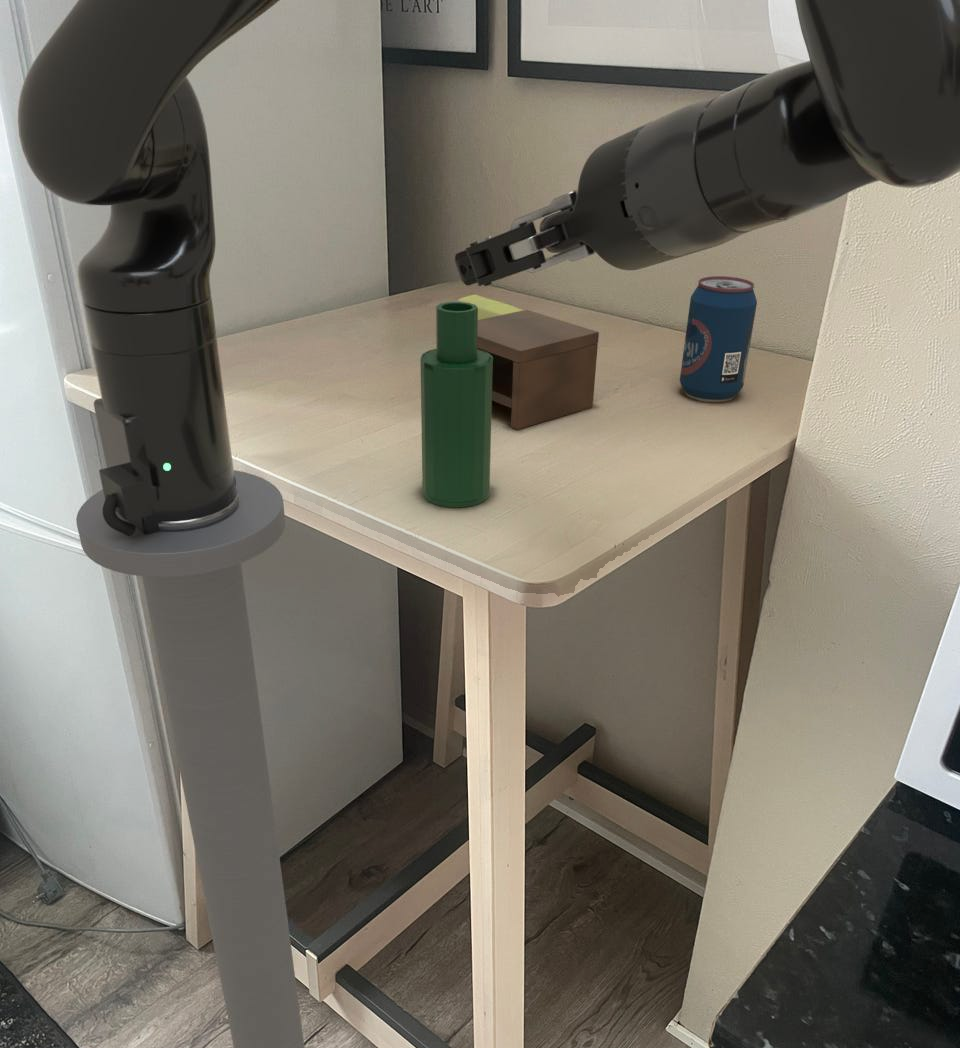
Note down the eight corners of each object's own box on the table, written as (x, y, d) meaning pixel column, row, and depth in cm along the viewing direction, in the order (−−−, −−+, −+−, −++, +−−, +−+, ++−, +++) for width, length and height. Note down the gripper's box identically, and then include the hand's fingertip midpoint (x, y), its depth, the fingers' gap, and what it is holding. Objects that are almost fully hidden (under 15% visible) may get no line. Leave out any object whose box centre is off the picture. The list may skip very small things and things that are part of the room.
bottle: (451, 513, 83) (451, 320, 74) (409, 491, 86) (405, 304, 78) (502, 495, 86) (509, 308, 77) (460, 474, 89) (461, 294, 81)
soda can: (667, 386, 111) (681, 276, 105) (721, 381, 113) (738, 273, 107) (697, 407, 106) (713, 292, 99) (753, 401, 108) (773, 288, 101)
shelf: (517, 430, 99) (520, 351, 95) (448, 400, 106) (448, 326, 102) (593, 407, 105) (599, 331, 101) (523, 381, 112) (526, 309, 108)
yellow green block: (484, 301, 113) (448, 282, 130) (472, 350, 115) (438, 325, 132) (591, 328, 117) (542, 306, 135) (578, 374, 119) (532, 347, 137)
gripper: (734, 90, 59) (559, 169, 72) (570, 151, 52) (410, 226, 65) (765, 218, 61) (591, 272, 74) (613, 291, 55) (451, 336, 68)
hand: (506, 250), depth 70 cm, fingers open, 8 cm apart
